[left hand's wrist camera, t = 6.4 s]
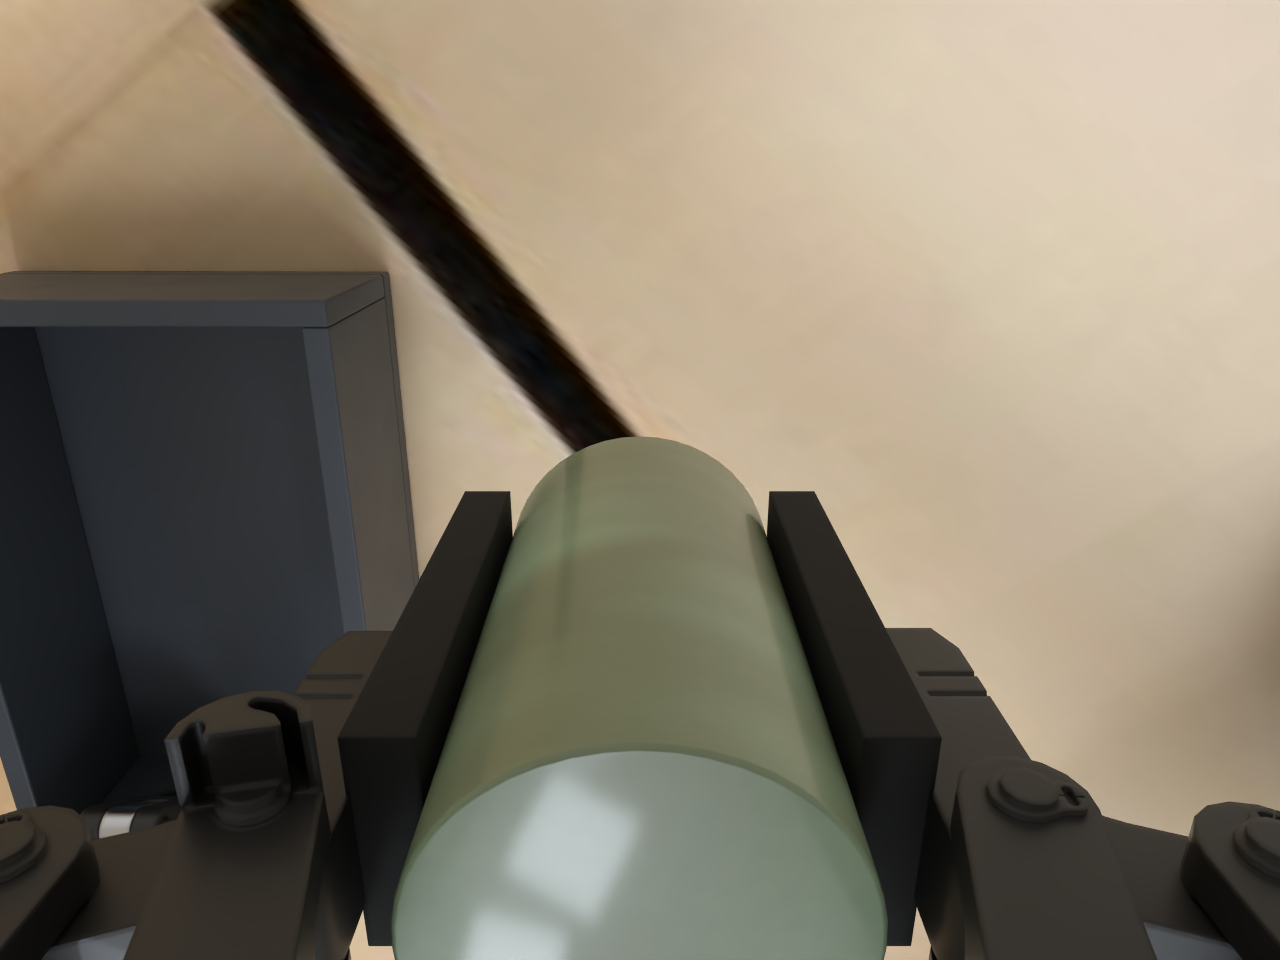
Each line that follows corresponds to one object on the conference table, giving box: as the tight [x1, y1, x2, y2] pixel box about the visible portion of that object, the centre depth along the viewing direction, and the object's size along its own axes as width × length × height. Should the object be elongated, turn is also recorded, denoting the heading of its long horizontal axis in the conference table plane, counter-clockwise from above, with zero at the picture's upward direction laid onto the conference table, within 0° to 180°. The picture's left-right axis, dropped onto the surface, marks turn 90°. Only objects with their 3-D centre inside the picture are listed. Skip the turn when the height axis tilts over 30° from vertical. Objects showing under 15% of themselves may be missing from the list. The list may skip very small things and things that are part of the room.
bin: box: [0, 271, 419, 815], centre depth 32 cm, size 14×22×7 cm, turn 0°
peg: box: [391, 437, 888, 960], centre depth 11 cm, size 4×4×8 cm
